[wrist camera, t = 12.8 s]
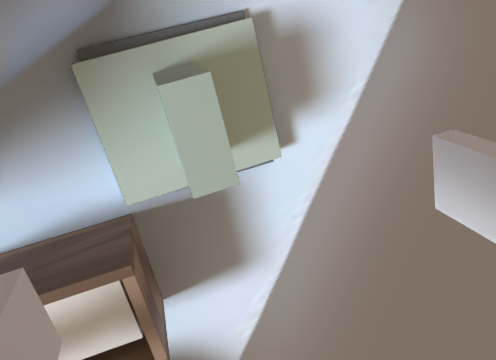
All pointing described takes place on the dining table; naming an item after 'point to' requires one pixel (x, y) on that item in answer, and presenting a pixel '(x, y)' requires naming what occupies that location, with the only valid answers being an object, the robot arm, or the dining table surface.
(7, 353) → the robot arm
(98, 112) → the lid
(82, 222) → the dining table surface
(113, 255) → the crate
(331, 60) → the dining table surface
